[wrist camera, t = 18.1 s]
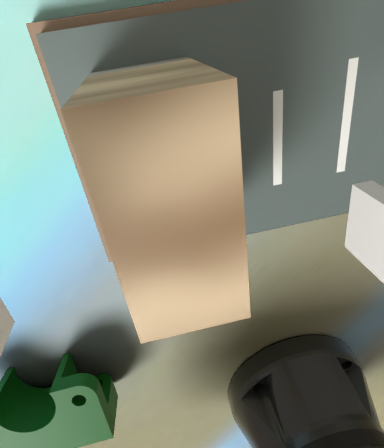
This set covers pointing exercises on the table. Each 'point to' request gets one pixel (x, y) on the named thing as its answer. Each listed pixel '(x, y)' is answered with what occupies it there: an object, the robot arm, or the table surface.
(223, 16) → the slate board
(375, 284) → the table surface
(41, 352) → the table surface
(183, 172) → the wooden block
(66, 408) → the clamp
